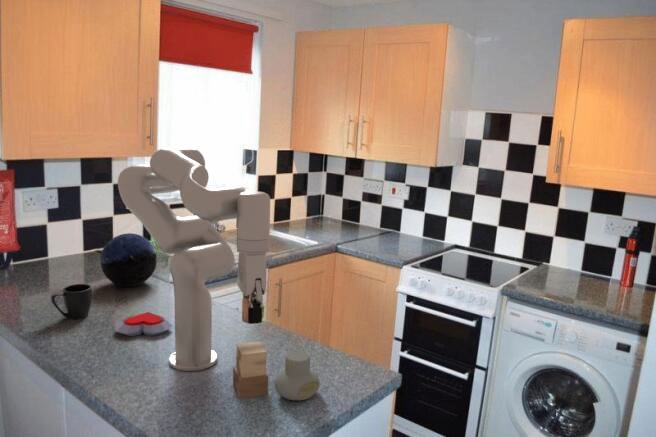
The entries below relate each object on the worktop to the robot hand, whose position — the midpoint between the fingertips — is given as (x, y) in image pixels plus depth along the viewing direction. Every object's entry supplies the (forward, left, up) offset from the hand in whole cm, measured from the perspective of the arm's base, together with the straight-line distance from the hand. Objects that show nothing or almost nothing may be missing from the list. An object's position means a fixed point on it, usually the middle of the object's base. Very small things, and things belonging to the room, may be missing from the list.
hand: (252, 318), depth 127 cm
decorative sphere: (-89, -25, -19) cm, 95 cm away
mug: (-60, -43, -19) cm, 76 cm away
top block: (0, 0, -14) cm, 14 cm away
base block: (0, 0, -19) cm, 19 cm away
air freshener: (+6, +10, -19) cm, 22 cm away
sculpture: (-45, -22, -19) cm, 54 cm away
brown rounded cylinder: (0, 0, 0) cm, 0 cm away
